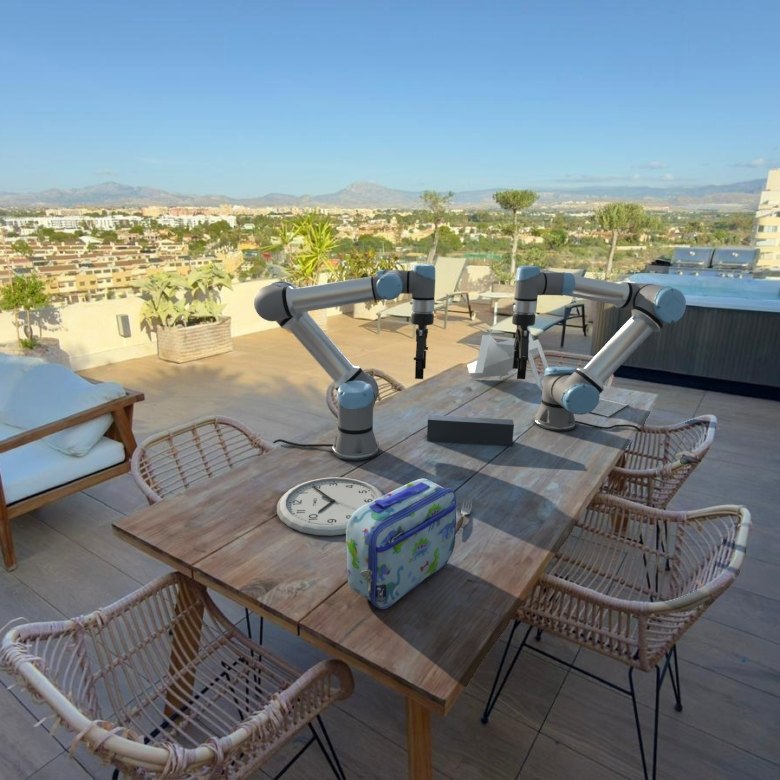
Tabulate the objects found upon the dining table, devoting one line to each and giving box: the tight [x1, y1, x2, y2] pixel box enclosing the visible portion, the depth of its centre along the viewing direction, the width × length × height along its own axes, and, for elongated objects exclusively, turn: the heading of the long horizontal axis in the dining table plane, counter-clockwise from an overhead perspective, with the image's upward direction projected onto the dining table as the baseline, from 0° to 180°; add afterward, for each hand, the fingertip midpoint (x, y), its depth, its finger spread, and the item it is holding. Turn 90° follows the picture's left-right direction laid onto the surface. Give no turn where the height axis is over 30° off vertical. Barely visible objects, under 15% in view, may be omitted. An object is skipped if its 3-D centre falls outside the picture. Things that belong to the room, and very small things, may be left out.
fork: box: [455, 498, 473, 536], centre depth 136 cm, size 3×16×2 cm, turn 160°
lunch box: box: [345, 477, 457, 610], centre depth 110 cm, size 26×11×21 cm, turn 134°
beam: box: [426, 414, 515, 447], centre depth 187 cm, size 30×5×8 cm, turn 83°
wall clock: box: [276, 476, 385, 537], centre depth 143 cm, size 30×2×30 cm
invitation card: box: [590, 397, 628, 418], centre depth 226 cm, size 21×1×15 cm
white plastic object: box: [467, 326, 550, 392], centre depth 256 cm, size 37×45×31 cm
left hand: (420, 373), depth 181 cm, fingers open, 13 cm apart
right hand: (518, 373), depth 183 cm, fingers open, 13 cm apart
